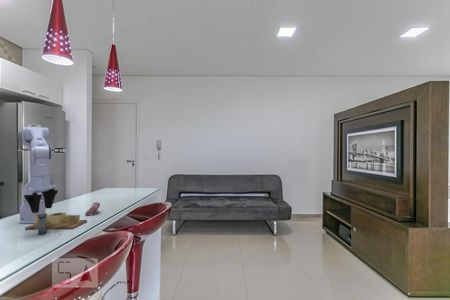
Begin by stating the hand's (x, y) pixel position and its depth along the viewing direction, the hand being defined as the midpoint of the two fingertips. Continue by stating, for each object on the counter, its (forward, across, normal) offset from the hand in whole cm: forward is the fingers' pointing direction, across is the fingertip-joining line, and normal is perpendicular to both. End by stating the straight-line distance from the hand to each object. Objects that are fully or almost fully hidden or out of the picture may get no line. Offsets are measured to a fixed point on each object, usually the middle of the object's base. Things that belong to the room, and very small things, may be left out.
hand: (42, 210), depth 104 cm
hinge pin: (+9, 0, 0) cm, 9 cm away
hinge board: (+9, +11, +1) cm, 14 cm away
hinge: (+9, +11, +1) cm, 14 cm away
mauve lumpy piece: (+10, +33, -4) cm, 34 cm away
